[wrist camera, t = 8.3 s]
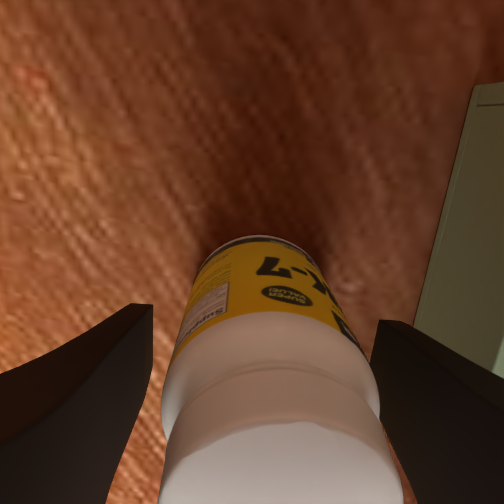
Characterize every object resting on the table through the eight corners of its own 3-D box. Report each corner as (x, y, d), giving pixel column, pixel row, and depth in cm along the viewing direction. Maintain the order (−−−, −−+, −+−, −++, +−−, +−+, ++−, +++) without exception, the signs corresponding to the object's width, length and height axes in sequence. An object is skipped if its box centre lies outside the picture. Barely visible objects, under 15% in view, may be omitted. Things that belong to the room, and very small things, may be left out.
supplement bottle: (351, 287, 14) (493, 504, 6) (265, 372, 15) (294, 651, 7) (250, 202, 13) (268, 337, 5) (165, 301, 14) (70, 539, 6)
